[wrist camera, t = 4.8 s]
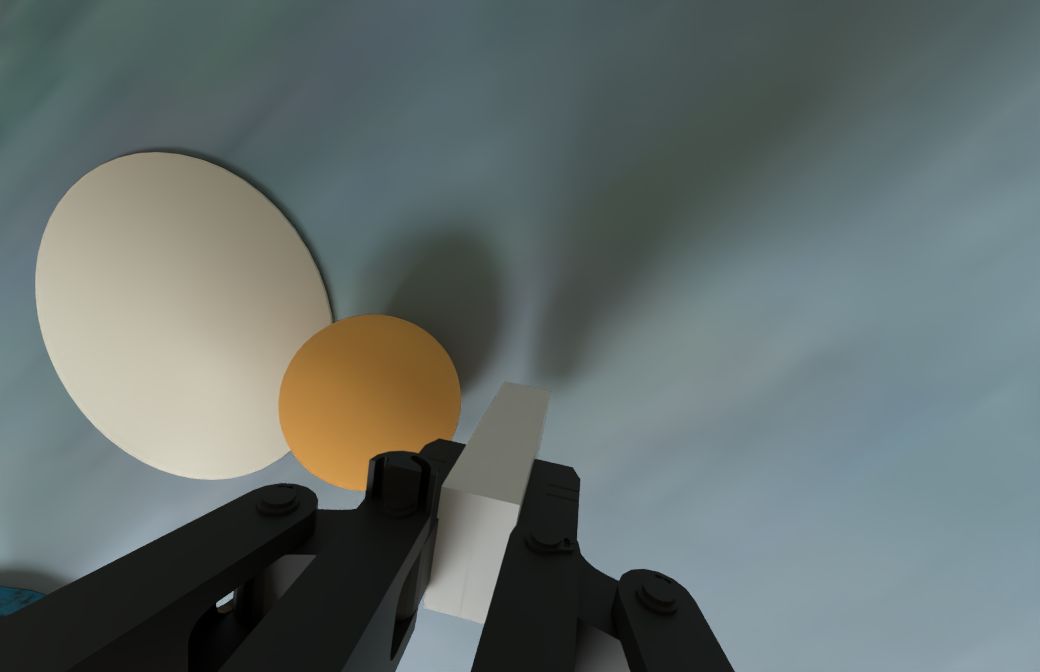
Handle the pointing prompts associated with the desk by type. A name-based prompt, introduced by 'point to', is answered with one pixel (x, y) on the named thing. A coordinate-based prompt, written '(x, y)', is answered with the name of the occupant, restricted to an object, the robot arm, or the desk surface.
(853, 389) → the desk surface
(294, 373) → the ball
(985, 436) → the desk surface
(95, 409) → the disc
